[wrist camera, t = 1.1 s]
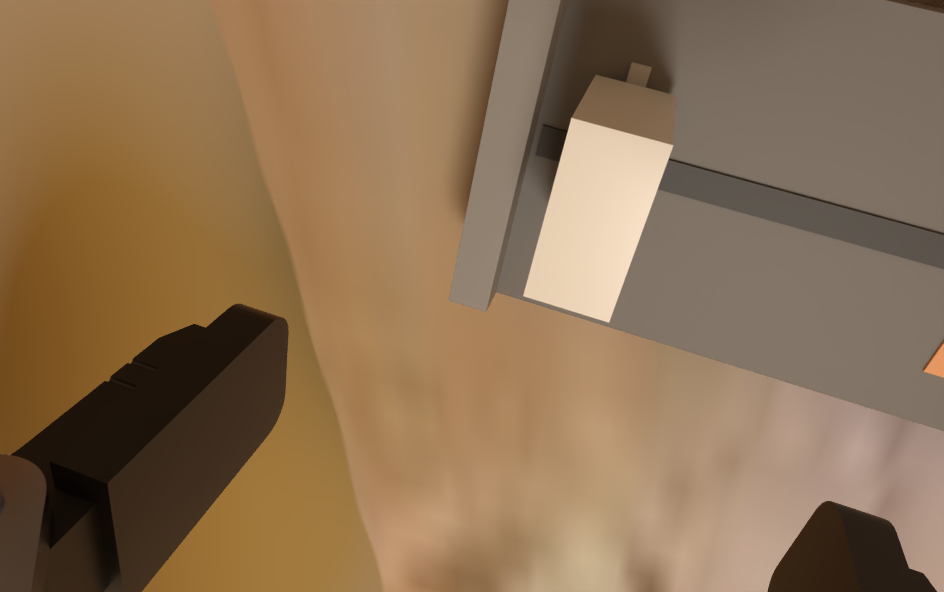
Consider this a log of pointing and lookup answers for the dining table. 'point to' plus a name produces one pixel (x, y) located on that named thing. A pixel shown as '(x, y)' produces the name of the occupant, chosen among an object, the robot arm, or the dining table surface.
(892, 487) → the dining table surface
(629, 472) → the dining table surface
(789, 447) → the dining table surface
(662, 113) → the fader tab
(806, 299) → the console
